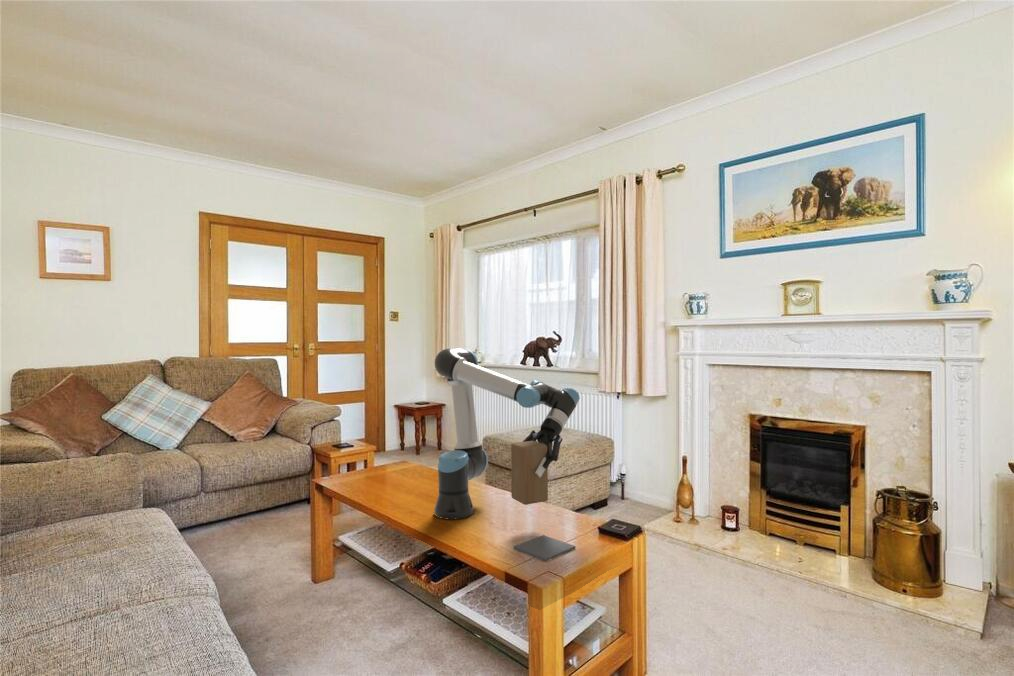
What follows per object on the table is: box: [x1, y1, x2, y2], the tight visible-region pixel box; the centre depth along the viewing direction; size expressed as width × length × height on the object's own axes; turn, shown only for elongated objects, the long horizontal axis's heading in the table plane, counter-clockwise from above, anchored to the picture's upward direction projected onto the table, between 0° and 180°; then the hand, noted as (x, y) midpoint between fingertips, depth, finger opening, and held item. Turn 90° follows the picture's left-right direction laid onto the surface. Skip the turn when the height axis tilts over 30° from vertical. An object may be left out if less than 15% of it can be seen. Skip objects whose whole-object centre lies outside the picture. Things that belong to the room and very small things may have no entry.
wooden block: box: [510, 441, 549, 506], centre depth 181 cm, size 10×10×20 cm
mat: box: [513, 534, 576, 562], centre depth 163 cm, size 14×14×1 cm
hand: (525, 471), depth 180 cm, fingers closed on wooden block, 12 cm apart
